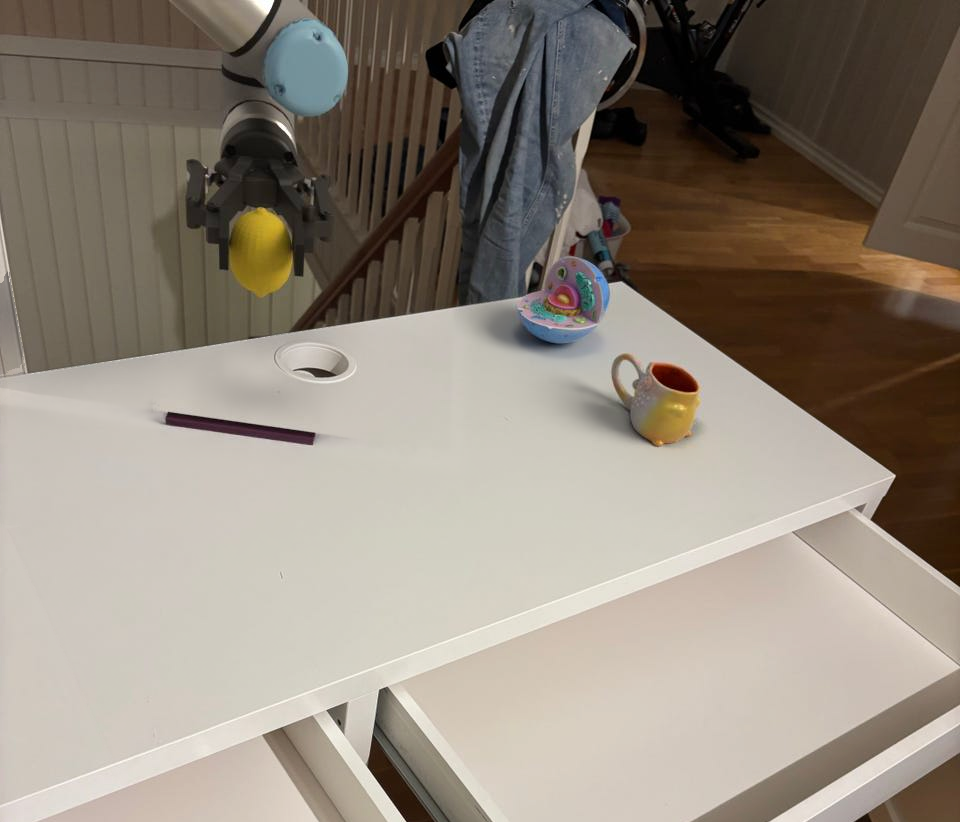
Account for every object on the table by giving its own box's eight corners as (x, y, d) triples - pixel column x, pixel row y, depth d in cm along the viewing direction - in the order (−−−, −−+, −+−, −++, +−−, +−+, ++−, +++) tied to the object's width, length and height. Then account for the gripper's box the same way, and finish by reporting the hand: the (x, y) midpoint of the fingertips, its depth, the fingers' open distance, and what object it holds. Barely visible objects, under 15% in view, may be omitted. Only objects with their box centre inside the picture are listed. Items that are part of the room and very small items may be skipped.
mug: (700, 440, 108) (720, 386, 103) (656, 453, 104) (675, 398, 100) (629, 386, 114) (645, 333, 110) (586, 396, 111) (600, 342, 106)
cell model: (493, 329, 119) (507, 252, 112) (561, 311, 125) (579, 238, 119) (549, 367, 114) (567, 289, 107) (617, 347, 121) (638, 272, 114)
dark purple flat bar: (165, 424, 93) (165, 417, 92) (177, 397, 97) (176, 390, 96) (312, 445, 95) (313, 438, 94) (318, 418, 98) (319, 411, 98)
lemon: (255, 277, 92) (256, 190, 86) (303, 298, 90) (307, 211, 85) (216, 295, 88) (214, 205, 82) (265, 317, 86) (266, 227, 81)
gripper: (349, 204, 102) (368, 308, 86) (164, 185, 98) (148, 291, 82) (354, 128, 97) (376, 223, 81) (159, 104, 93) (142, 199, 77)
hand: (262, 257), depth 81 cm, fingers closed on lemon, 5 cm apart
